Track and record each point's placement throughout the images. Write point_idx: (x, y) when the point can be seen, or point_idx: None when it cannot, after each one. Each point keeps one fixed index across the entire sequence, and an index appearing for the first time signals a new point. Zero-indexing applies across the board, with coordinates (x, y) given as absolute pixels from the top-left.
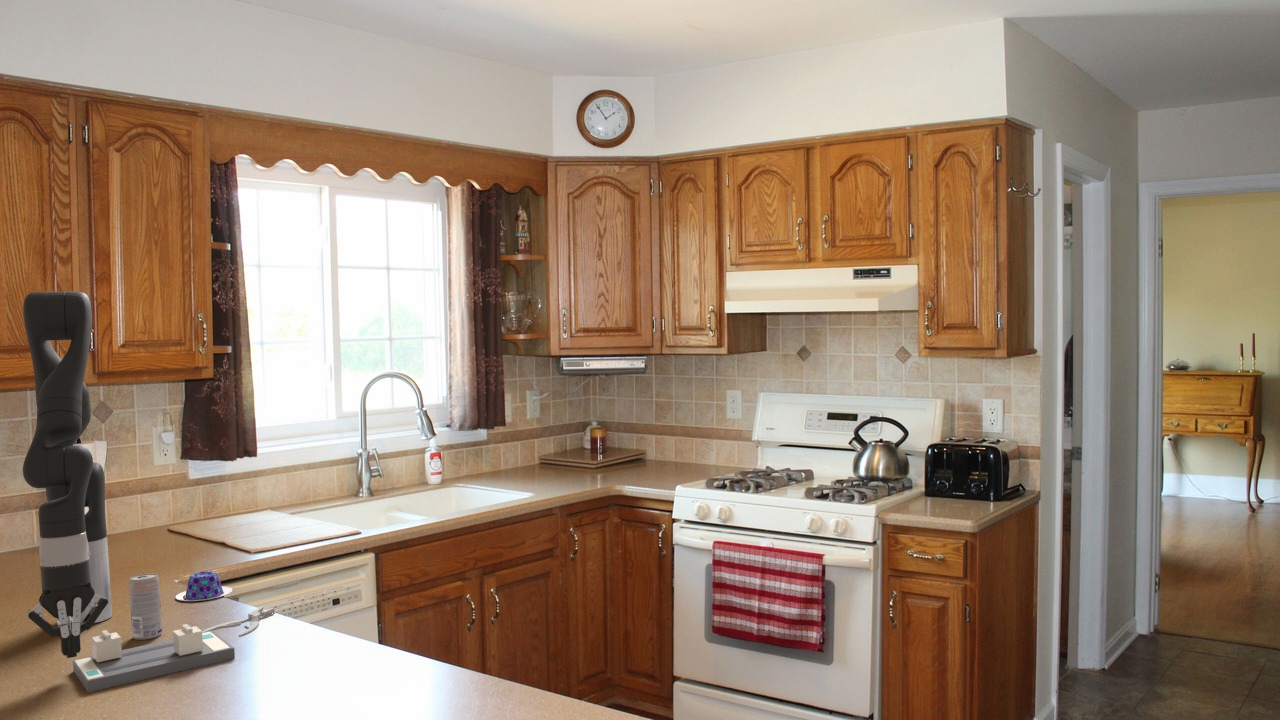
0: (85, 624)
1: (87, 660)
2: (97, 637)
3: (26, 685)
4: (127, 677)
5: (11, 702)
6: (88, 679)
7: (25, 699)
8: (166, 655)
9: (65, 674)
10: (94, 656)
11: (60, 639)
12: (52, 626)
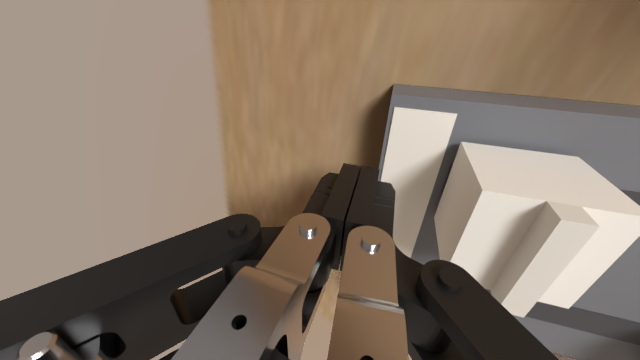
0: (411, 351)
1: (428, 152)
2: (498, 220)
3: (253, 107)
4: None
5: (228, 202)
6: None
7: (252, 209)
8: (633, 322)
9: (363, 93)
10: (450, 179)
11: (303, 212)
12: (229, 263)
